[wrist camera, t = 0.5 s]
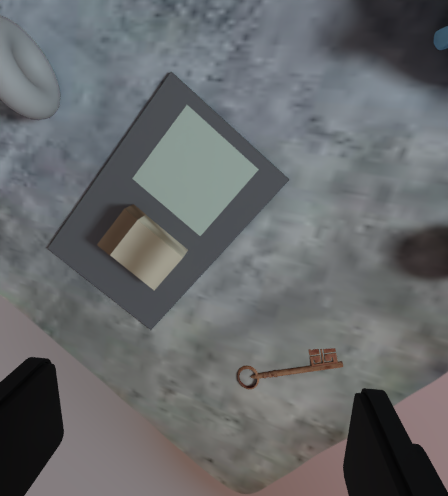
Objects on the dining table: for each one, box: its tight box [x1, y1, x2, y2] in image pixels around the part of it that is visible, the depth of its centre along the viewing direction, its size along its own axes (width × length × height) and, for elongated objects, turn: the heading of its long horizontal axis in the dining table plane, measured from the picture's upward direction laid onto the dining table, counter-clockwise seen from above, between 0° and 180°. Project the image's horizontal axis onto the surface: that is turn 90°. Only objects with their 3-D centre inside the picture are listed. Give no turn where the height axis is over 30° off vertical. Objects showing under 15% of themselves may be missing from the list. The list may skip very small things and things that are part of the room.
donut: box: [0, 16, 61, 120], centre depth 34 cm, size 10×3×10 cm, turn 19°
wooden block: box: [97, 204, 188, 290], centre depth 42 cm, size 9×6×3 cm
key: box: [237, 349, 343, 389], centre depth 47 cm, size 6×1×15 cm
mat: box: [48, 72, 289, 330], centre depth 42 cm, size 18×28×1 cm, turn 139°
